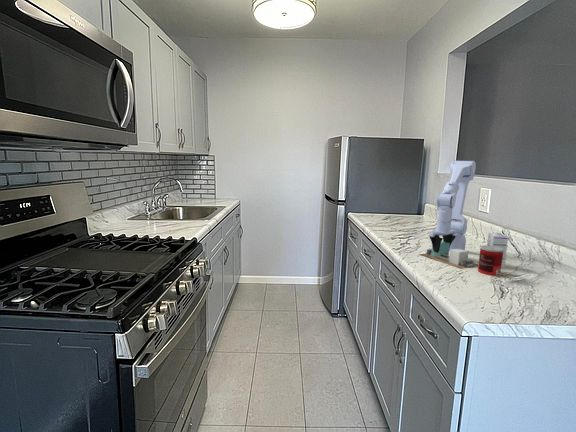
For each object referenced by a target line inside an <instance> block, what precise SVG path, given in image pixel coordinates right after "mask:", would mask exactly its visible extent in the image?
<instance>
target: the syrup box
mask: <svg viewBox="0 0 576 432" xmlns="http://www.w3.org/2000/svg"><path fill="white" fill-rule="evenodd" d="M508 240H509V236H508V235H506V234H504V233H500V232H488V237H487V245H488V246H496V247H500V248H502V249H503V258H502V265H501V269H505V268H506V259H507V250H508V249H507V248H508Z"/></svg>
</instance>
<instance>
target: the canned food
mask: <svg viewBox="0 0 576 432" xmlns="http://www.w3.org/2000/svg"><path fill="white" fill-rule="evenodd" d="M478 257H479V258H478V264H477V265H478V266H477V272H478V273H480V274H483V275H487V276H491V277H492V276H493V277H494V276H496V277H498V276H500V275H501V270H502V268H501V265H502V258H503V249H502V248H500V247H496V246H488V245H485V244H484V245H481V246H480V250H479V256H478Z"/></svg>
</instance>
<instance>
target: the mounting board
mask: <svg viewBox="0 0 576 432" xmlns="http://www.w3.org/2000/svg"><path fill="white" fill-rule="evenodd" d="M443 255H445V254H443ZM418 256H421V257H425V258H426V259H427V258H428V259H429V260H433V261H436V262H439V263H442V264H444V265H448V266H451V267H453V268H457V269H459V270H462V269H468V268H469V269H470V268H474V267H478V264H476V263H474V262H473V266H471V267H463V266H462V265H456V264H453V263H450V262H449V261H446V260H443V259H440V258H437V257H434V256H431V255H427V254H426V252H425V253H420V254H419V253H418ZM446 256H449V255H446Z"/></svg>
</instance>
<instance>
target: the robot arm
mask: <svg viewBox="0 0 576 432" xmlns="http://www.w3.org/2000/svg"><path fill="white" fill-rule="evenodd" d="M476 164H477V162H475V160H454V159H453V160H452V161H451V163H450V167H449V169H450V174H451V176H450V180H449V181H447V182H446V183H445V185H444V188H443V190H442V192H441V193H440V194H438V195H437V200H436V206H437V208H436V210H437V216H436V217H437V218H436V228H435V229H434V230H432V231H429V232H428V234H429V235H428V237H429V240H430V241H431V246H432V245H433V251H434V252H437V253H438V252H439V248H440V244H441V241H443V242H447V243H450V246H449V253H450V250H451V249H459V248H460V249H463V250H466V245H467V243H466V242H467V240H466V236H465V234H466V232H467V228H468V219H467V218H466V217H465V216H464V215H463V210H464V206H465V205H464V204H465V200H466V196H467V190H468V186H469V182H470V181H473V180H474V178H475V174H476V167H477V166H476Z"/></svg>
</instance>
